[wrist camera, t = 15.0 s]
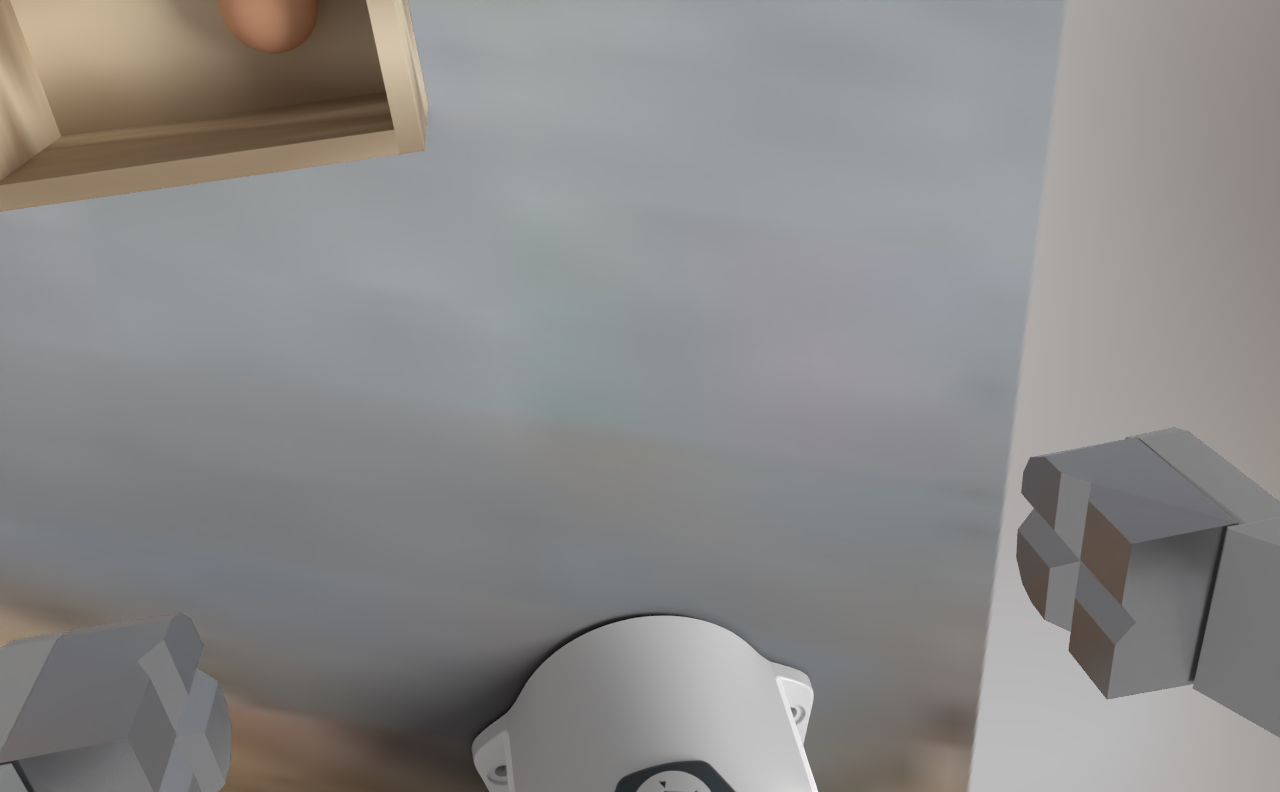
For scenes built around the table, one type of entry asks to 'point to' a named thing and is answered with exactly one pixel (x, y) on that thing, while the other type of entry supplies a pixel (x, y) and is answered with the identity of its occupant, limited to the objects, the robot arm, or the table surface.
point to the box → (194, 96)
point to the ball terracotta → (270, 22)
